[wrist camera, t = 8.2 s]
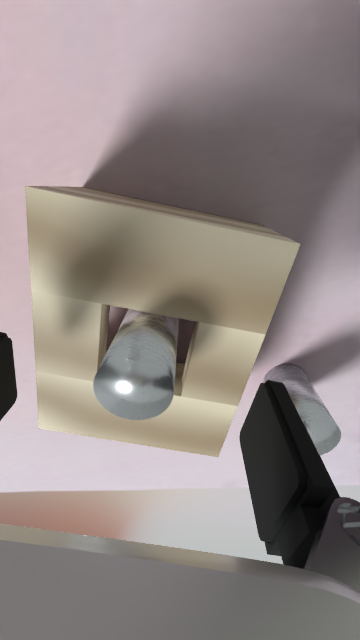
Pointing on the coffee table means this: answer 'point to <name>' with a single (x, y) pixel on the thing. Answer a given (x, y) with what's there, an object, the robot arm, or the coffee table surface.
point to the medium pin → (308, 406)
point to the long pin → (139, 367)
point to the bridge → (148, 307)
